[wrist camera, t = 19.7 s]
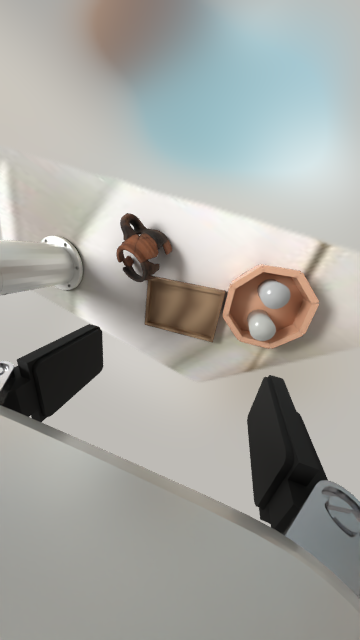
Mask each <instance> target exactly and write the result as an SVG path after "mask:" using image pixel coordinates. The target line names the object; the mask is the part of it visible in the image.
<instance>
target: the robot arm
mask: <svg viewBox="0 0 360 640" xmlns="http://www.w3.org/2000/svg"><path fill="white" fill-rule="evenodd" d="M82 275H83V266H82V261H81V258H80V256H79V254H78V252H77V250H76V249H75V247H74V246H73V245H72V244H71V243H70V242H69V241H68V240H66V239H64V238H63V237H59V236H48V237H45V238H44V239H43V240H42V241H41V242H29V241H13V240H0V295H6V294H11V293H17V292H22V291H28V290H34V289H39V288H45V287H50V286H54V287H56V288H58V289H61V290H70V289H73V288H75V287H77V286H78V285H79V283H80V282H81V279H82ZM102 347H103V346H102V331H101V330H100V327H98V326H94V325H91V324H89V325H87V326H85V327H82V328H80V329H79V330H76V331H74V332H72V333H70V334H68V335H66V336H64V337H62V338H60V339H58V340H56V341H54V342H52V343H50V344H48V345H46V346H43V347H41V348H39V349H38V350H35V351H33V352H31V353H29V354H27V355H25V356H23V357H21V358H19V359H17V362H18V366H17V367H14V365H13V364H12V363H11V362H8V361H0V640H360V502H359V501H358V500H357V499H356V498H355V497H354V496H353V495H352V494H351V493H350V492H349V491H347V490H346V489H344V488H343V487H342V486H340V485H338V484H336V483H334V482H331V481H328V479H327V477H326V475H325V472H324V470H323V467H322V465H321V463H320V460H319V458H318V456H317V453H316V451H315V449H314V446H313V444H312V442H311V439H310V437H309V434H308V432H307V429H306V427H305V425H304V422H303V420H302V418H301V416H300V414H299V413H298V412H296V410H295V407H294V405H293V402H292V400H291V397H290V395H289V392H288V390H287V388H286V385H285V382H284V380H283V379H282V378H278V377H275V376H271V375H269V377H264V379H263V381H262V384H261V386H260V388H259V391H258V393H257V395H256V398H255V400H254V402H253V405H252V407H251V410H250V412H249V415H248V419H247V424H248V435H249V447H250V458H251V470H252V481H253V491H254V492H253V493H254V502H255V505H256V506H258V507H259V511H260V519H261V520H263V521H266V522H268V523H270V524H271V527H269V526H267V525H265V524H263V523H261V522H260V521H258V520H256V519H254V518H252V517H250V516H248V515H246V514H244V513H242V512H240V511H237V510H235V509H233V508H231V507H229V506H227V505H225V504H223V503H221V502H219V501H216V500H214V499H212V498H210V497H208V496H206V495H203V494H201V493H199V492H197V491H195V490H193V489H190V488H188V487H186V486H184V485H182V484H179V483H177V482H175V481H172V480H170V479H168V478H166V477H164V476H161V475H159V474H157V473H155V472H152V471H150V470H148V469H146V468H144V467H141V466H139V465H137V464H134V463H132V462H130V461H128V460H126V459H123V458H121V457H119V456H116V455H114V454H112V453H110V452H107V451H105V450H103V449H101V448H98V447H96V446H94V445H91V444H89V443H87V442H85V441H82V440H80V439H78V438H76V437H73V436H71V435H69V434H66V433H64V432H62V431H60V430H57V429H55V428H53V427H50V426H48V425H45V424H43V423H41V422H42V421H43V420H44V419H45V418H47V417H49V416H51V415H53V414H54V413H55V412H56V411H57V410H58V409H59V408H61V407H62V406H63V405H64V404H65V403H66V402H67V401H68V400H70V399H71V398H72V397H73V396H74V395H75V394H76V393H77V392H78V391H79V390H81V389H82V388H83V387H84V386H85V385H86V384H87V383H89V382H90V381H91V380H92V379H93V378H94V377H95V376H96V375H98V374H99V373H100V372H101V370H102V368H103V348H102ZM30 415H31V417H32V418H30V417H29V416H30Z"/></svg>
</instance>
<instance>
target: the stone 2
mask: <svg viewBox="0 0 360 640" xmlns="http://www.w3.org/2000/svg"><path fill="white" fill-rule="evenodd" d="M247 322H248V326H249V330H250V334H251V336H252V337H253V338H254V339H256V340H258V341H266V340H269V339H271V338H272V337H273V336H274V335H275V332H276V327H275V325H274V323H273V322H272V320H271V318H270V317H269V315H268V313H267V312H266V311H264V310H261V309H257V310H253V311H252V312H250V313H249V315H248V317H247Z"/></svg>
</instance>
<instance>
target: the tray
mask: <svg viewBox="0 0 360 640" xmlns="http://www.w3.org/2000/svg"><path fill="white" fill-rule="evenodd" d="M224 295H225V291H224V290H219V289H214V288H209V287H204V286H199V285H194V284H189V283H184V282H179V281H174V280H169V279H165V278H160V277H156V278H154V279H151V280H148V287H147V300H146V314H145V325H149V326H153V327H156V328H160V329H164V330H168V331H172V332H175V333H179V334H183V335H187V336H190V337H194V338H198V339H202V340H206V341H209V342H213V339H214V335H215V331H216V327H217V323H218V319H219V315H220V311H221V307H222V303H223V299H224Z"/></svg>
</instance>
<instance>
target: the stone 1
mask: <svg viewBox="0 0 360 640" xmlns="http://www.w3.org/2000/svg"><path fill="white" fill-rule="evenodd" d="M257 293H258V296H259V297H260V299H261V301H262V302H263V304H264V305H265V306H266V307H268V308H271V309H278V308H281V307H283V306H285V305H286V304H287V303H288V301H289V299H290V290H289V289H288V288H287V287H286V286H285V285H283V284H282V283H280V282H278V281H276V280H274V279H267V280H264V281H263V282H261V283H260V284H259V286H258V289H257Z"/></svg>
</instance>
